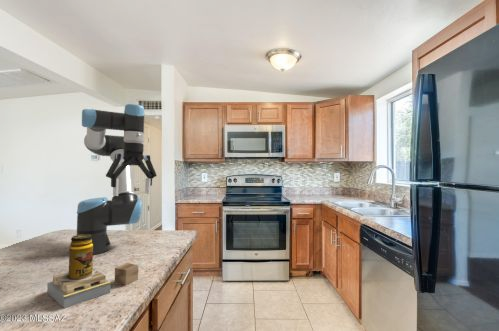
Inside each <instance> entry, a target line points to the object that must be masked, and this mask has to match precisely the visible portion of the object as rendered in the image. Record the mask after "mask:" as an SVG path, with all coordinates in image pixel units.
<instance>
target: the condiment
mask: <svg viewBox="0 0 499 331" xmlns="http://www.w3.org/2000/svg"><path fill="white" fill-rule="evenodd" d="M70 240H71V242H70V246H69V249H68V250H69V252H68V255H69V256H68V271H66V272H64V273H65V274H64V275H63V276H62V277H61V278H59V279H58V280H57V281H56V282H58V281H79V280H89V279H90V278H91V277H92V276H93V274H94V273H95V272H96V271H98V269H95V270H93V269H94V268H93V266H94V265H93V264H94V261H93V260H94V255H93V244H92V236H91V235H89V234H82V235H77V234H76V235H73V236H72V237H71V239H70Z"/></svg>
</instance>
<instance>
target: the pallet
mask: <svg viewBox="0 0 499 331" xmlns="http://www.w3.org/2000/svg"><path fill="white" fill-rule="evenodd" d="M93 270H96V269H95V268H93ZM65 273H66V272H63V273H59V274H54V275H53V276H52V277H53V278H52V281H53V283H54V284H55V285H57V286H58V287H59V288H60V289H61V290H63V291H64V292H65V293H66V294H71V293H74V288H77V287H82V288H84V289H87V288H90V287H91V283H94V282H97V283H99V284H103V283H106V280H107V278H106V275H105V274H104V273H102V272H100V271H98V270H97V271H96V272H95V273H94V274H93V276H92V277H91V278H90V279H89V280H79V281H58V282H56V281H57V280H58V279H59V278H61V277H62V276H63V275H64V274H65Z"/></svg>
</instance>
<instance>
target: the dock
mask: <svg viewBox="0 0 499 331" xmlns="http://www.w3.org/2000/svg"><path fill="white" fill-rule="evenodd" d="M111 285H112V284H111V281H110V280H108V279H106V283H103V284H99V283H97V282H94V283H91V287H90V288H87V289H84V288H82V287H77V288H74V293H71V294H66V293H65V292H64V291H63V290H61V289H60V288H59V287H58V286H57V285H55V284H54V283H53V280H51V281H47V290H46V293H47V294H48V295H49V296H50V297H52V299H53V300H55V301H56V302H57V303H58V305H59V306H61V307H62V309H66V308H70V307H72V306H75V305H78V304H81V303H84V302H87V301H88V300H92V299H94V298H98V297H101V296H104V295H107V294H109V293H111Z"/></svg>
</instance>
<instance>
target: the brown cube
mask: <svg viewBox="0 0 499 331" xmlns="http://www.w3.org/2000/svg"><path fill="white" fill-rule="evenodd" d="M138 280H139V264H135V263H130V262H126V263H124V264H121V265H119V266H117V267H114V284H117V285H121V286H129V285H130V284H133V283H134V282H137V281H138Z"/></svg>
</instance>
